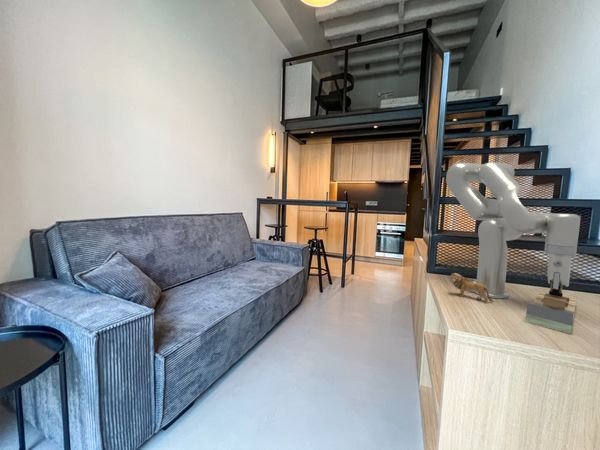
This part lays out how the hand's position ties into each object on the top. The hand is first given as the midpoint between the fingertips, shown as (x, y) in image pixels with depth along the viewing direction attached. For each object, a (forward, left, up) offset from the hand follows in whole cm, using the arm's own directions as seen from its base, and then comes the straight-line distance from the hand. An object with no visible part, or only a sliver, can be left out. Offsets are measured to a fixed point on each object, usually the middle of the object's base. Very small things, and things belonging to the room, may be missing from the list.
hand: (554, 303), depth 87 cm
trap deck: (0, 0, -4) cm, 4 cm away
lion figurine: (-23, +8, -4) cm, 25 cm away
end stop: (-9, -12, -1) cm, 15 cm away
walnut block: (-3, -4, -1) cm, 5 cm away
